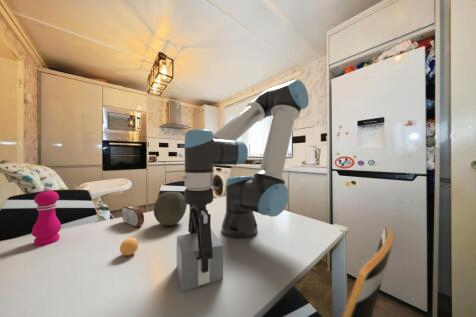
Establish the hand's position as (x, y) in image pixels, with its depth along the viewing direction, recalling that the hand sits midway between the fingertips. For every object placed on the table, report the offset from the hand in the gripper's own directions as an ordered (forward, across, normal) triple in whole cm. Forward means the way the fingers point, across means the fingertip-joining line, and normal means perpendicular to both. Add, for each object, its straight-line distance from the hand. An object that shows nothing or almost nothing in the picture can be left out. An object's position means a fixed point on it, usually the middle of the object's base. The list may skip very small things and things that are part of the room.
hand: (198, 269), depth 47 cm
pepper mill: (+1, -40, -46) cm, 61 cm away
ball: (-2, -18, -18) cm, 26 cm away
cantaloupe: (+1, -39, -4) cm, 39 cm away
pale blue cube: (+1, 0, 0) cm, 1 cm away
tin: (+1, -46, -20) cm, 50 cm away
